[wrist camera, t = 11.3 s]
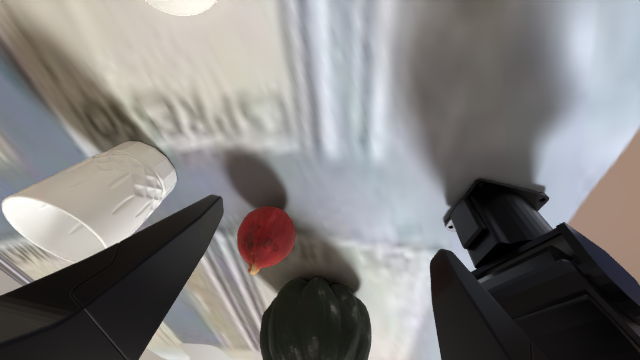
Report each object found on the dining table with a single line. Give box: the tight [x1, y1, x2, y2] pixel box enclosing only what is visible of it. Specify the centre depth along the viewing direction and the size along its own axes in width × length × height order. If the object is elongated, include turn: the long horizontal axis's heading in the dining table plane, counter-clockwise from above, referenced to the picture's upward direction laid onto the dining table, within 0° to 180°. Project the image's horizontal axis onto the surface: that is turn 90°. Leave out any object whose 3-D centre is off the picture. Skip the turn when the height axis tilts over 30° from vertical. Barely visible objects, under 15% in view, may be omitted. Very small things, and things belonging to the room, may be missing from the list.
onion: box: [237, 207, 295, 275], centre depth 25 cm, size 6×6×8 cm
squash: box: [260, 277, 371, 360], centre depth 32 cm, size 14×15×15 cm
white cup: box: [2, 141, 177, 263], centre depth 23 cm, size 8×8×10 cm
